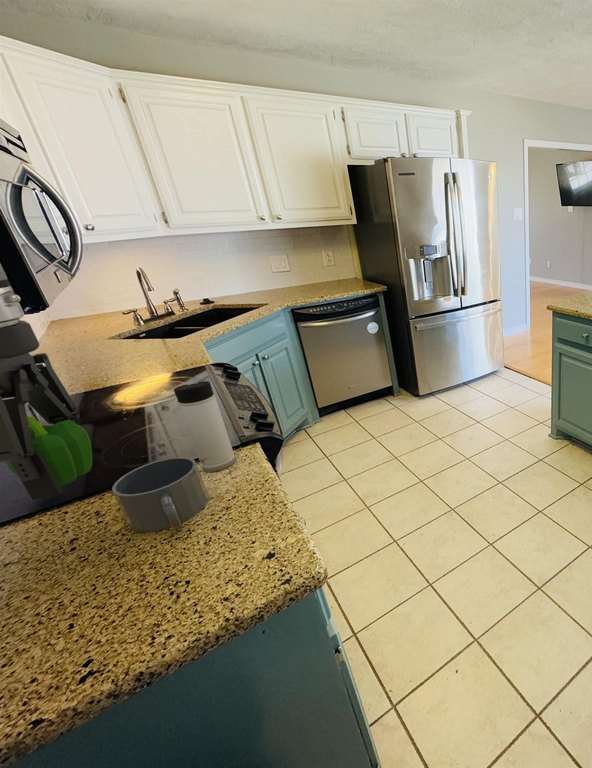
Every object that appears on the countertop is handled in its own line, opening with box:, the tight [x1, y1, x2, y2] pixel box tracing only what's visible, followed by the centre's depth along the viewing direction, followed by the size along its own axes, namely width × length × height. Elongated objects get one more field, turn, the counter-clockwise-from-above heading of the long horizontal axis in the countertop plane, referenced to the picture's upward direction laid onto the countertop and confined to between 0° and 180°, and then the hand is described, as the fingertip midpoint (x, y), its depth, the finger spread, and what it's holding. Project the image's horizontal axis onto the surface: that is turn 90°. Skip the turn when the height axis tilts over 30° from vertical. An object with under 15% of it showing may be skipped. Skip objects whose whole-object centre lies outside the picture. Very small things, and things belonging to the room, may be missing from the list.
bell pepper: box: [5, 415, 93, 487], centre depth 57 cm, size 8×8×10 cm
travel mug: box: [173, 380, 236, 473], centre depth 88 cm, size 6×7×20 cm
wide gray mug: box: [111, 456, 210, 533], centre depth 75 cm, size 16×12×8 cm
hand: (63, 477), depth 59 cm, fingers closed on bell pepper, 8 cm apart
